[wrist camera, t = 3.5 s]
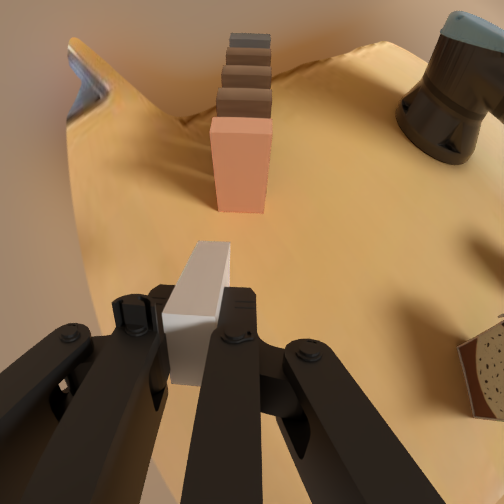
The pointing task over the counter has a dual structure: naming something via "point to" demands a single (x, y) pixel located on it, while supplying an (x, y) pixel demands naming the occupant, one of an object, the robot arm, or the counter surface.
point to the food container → (485, 372)
